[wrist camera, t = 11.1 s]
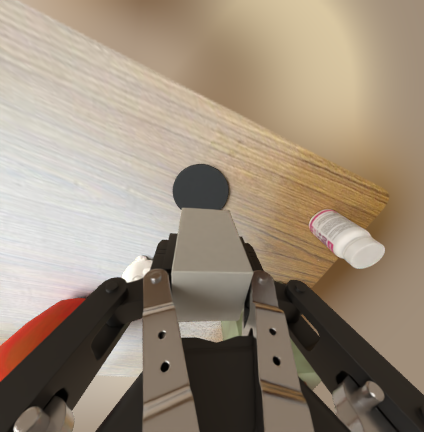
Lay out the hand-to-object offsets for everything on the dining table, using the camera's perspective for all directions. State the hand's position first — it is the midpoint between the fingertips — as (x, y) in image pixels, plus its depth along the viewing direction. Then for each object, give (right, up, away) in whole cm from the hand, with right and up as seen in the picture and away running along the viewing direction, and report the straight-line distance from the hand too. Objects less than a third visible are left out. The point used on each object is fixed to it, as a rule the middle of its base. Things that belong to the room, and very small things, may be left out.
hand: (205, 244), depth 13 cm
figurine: (-11, -7, +16) cm, 21 cm away
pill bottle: (+18, +1, +15) cm, 24 cm away
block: (0, +1, +2) cm, 2 cm away
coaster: (-1, +6, +10) cm, 12 cm away
